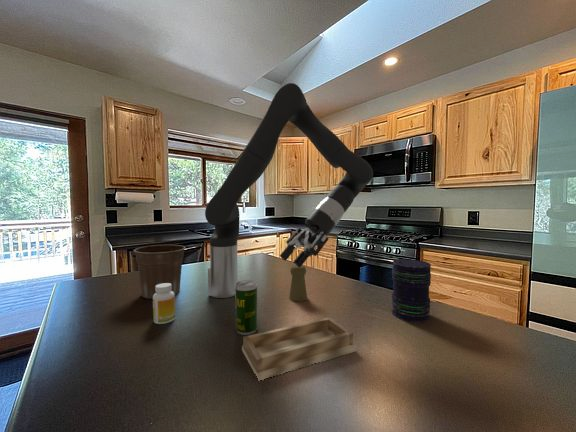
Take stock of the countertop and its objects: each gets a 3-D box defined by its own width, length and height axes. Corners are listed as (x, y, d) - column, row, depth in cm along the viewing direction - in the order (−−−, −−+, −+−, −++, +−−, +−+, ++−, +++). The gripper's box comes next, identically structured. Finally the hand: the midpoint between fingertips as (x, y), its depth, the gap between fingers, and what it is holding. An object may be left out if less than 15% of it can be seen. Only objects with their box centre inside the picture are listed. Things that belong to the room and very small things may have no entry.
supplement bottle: (179, 317, 74) (178, 283, 73) (164, 326, 69) (163, 289, 68) (164, 314, 76) (163, 281, 75) (148, 322, 71) (147, 287, 70)
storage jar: (428, 311, 77) (430, 260, 77) (431, 325, 69) (432, 268, 68) (392, 305, 82) (393, 257, 81) (390, 318, 73) (391, 264, 72)
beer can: (247, 323, 70) (247, 278, 69) (262, 329, 67) (261, 282, 66) (231, 331, 66) (230, 283, 65) (245, 338, 63) (245, 288, 62)
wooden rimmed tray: (259, 381, 47) (258, 362, 47) (242, 350, 57) (241, 334, 57) (355, 351, 57) (356, 335, 57) (327, 329, 67) (327, 315, 67)
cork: (307, 295, 91) (307, 263, 90) (307, 301, 85) (307, 268, 84) (290, 294, 92) (290, 263, 91) (288, 301, 86) (288, 267, 85)
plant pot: (195, 287, 100) (194, 244, 99) (168, 303, 84) (167, 253, 83) (156, 285, 103) (155, 243, 102) (123, 300, 87) (121, 251, 86)
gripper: (304, 207, 80) (269, 248, 76) (331, 208, 67) (291, 257, 63) (319, 224, 83) (286, 264, 78) (348, 228, 70) (311, 276, 65)
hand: (289, 261), depth 70 cm, fingers open, 8 cm apart
